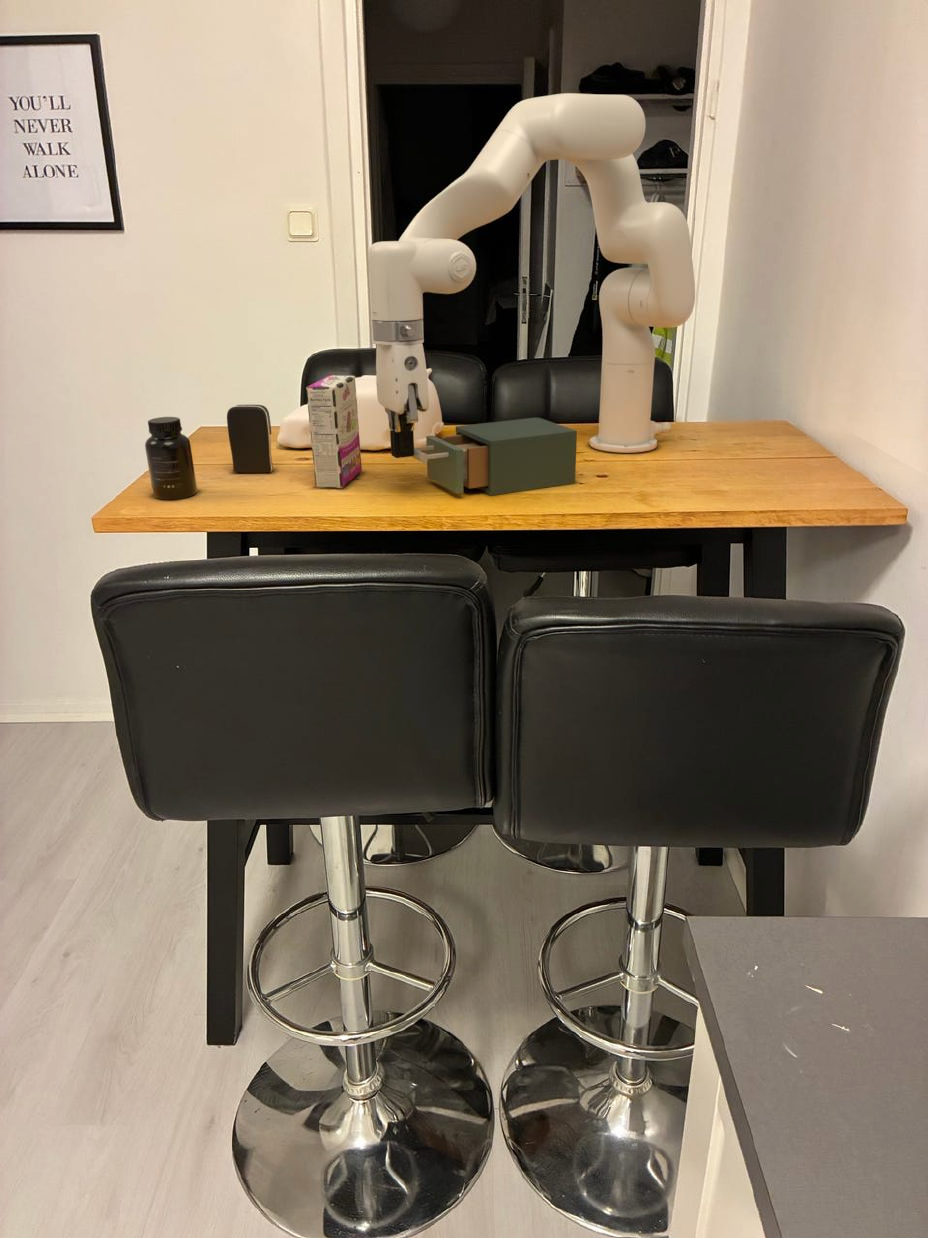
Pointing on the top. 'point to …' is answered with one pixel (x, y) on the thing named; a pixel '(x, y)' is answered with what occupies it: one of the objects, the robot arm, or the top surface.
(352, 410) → the candy bar box
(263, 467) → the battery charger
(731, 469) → the top surface
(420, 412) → the white rounded body
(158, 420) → the supplement bottle
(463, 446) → the cream box
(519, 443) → the cabinet
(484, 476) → the drawer
